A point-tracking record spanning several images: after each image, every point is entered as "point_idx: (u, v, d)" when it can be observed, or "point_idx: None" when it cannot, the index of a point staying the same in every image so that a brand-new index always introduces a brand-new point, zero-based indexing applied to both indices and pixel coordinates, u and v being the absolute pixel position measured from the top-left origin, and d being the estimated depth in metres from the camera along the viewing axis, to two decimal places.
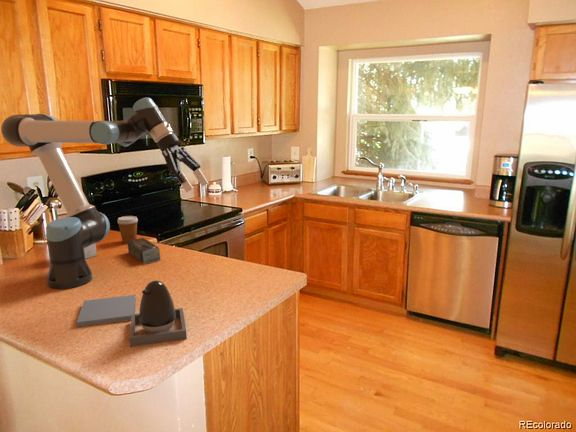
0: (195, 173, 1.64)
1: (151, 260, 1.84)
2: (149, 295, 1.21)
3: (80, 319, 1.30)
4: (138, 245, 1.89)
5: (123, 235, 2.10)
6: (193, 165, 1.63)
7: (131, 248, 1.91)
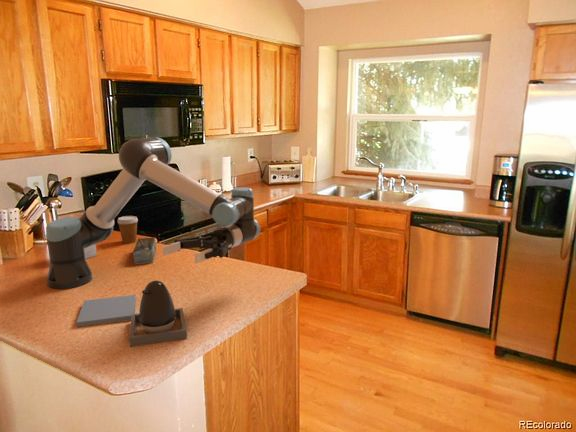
0: (177, 245, 1.38)
1: (142, 261, 1.83)
2: (149, 295, 1.21)
3: (80, 319, 1.30)
4: (139, 244, 1.90)
5: (123, 235, 2.10)
6: (185, 246, 1.40)
7: None
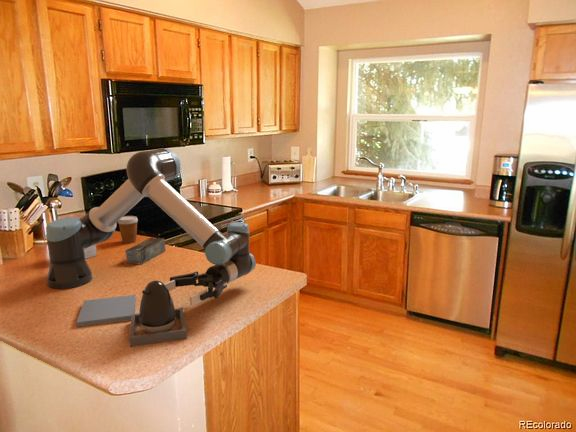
0: (172, 283, 1.38)
1: (133, 261, 1.83)
2: (149, 295, 1.21)
3: (80, 319, 1.30)
4: (140, 244, 1.91)
5: (123, 235, 2.10)
6: (180, 284, 1.40)
7: None
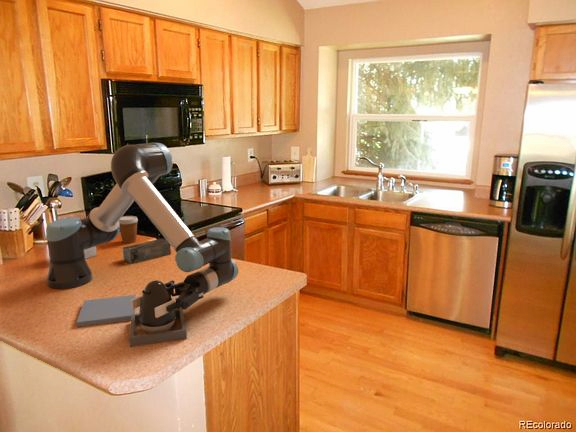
0: None
1: (127, 259, 1.85)
2: (149, 295, 1.21)
3: (80, 319, 1.30)
4: (143, 243, 1.91)
5: (123, 235, 2.10)
6: None
7: None
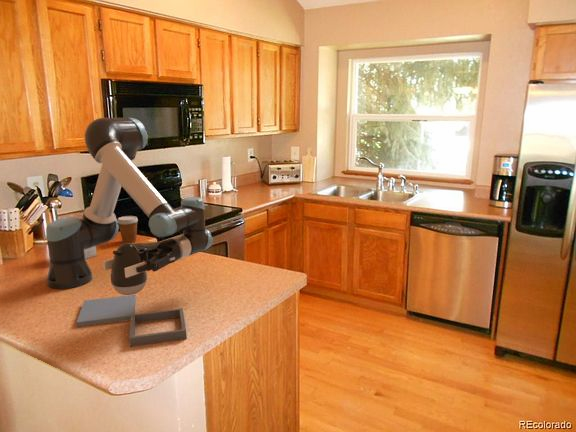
0: None
1: None
2: (120, 256, 1.25)
3: (80, 319, 1.30)
4: (146, 243, 1.91)
5: (123, 235, 2.10)
6: None
7: None
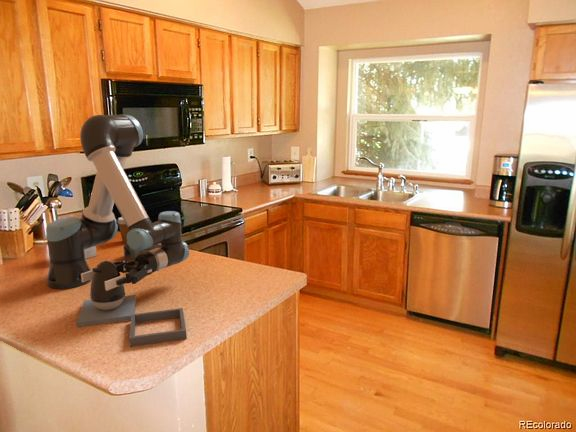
0: None
1: None
2: (99, 273, 1.33)
3: (80, 319, 1.30)
4: None
5: (123, 235, 2.10)
6: None
7: None
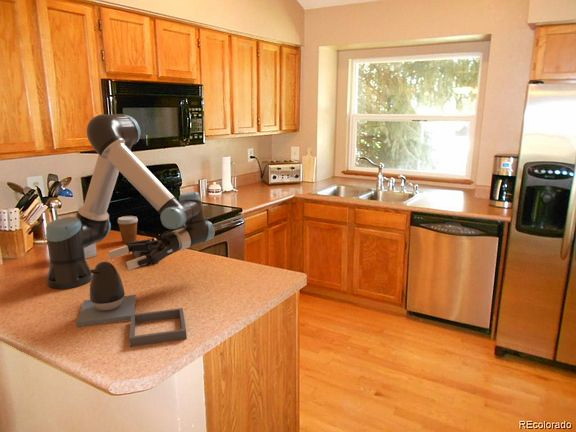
0: (125, 249, 1.52)
1: None
2: (97, 274, 1.32)
3: (80, 319, 1.30)
4: None
5: (123, 235, 2.10)
6: (134, 250, 1.54)
7: None
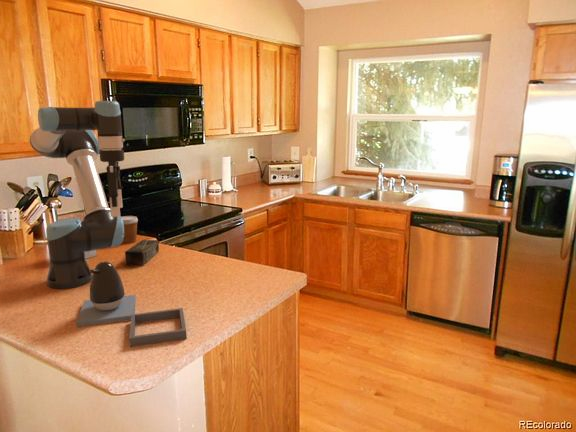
0: None
1: None
2: (97, 274, 1.32)
3: (80, 319, 1.30)
4: (147, 245, 1.88)
5: None
6: (118, 184, 1.53)
7: (148, 253, 1.85)
